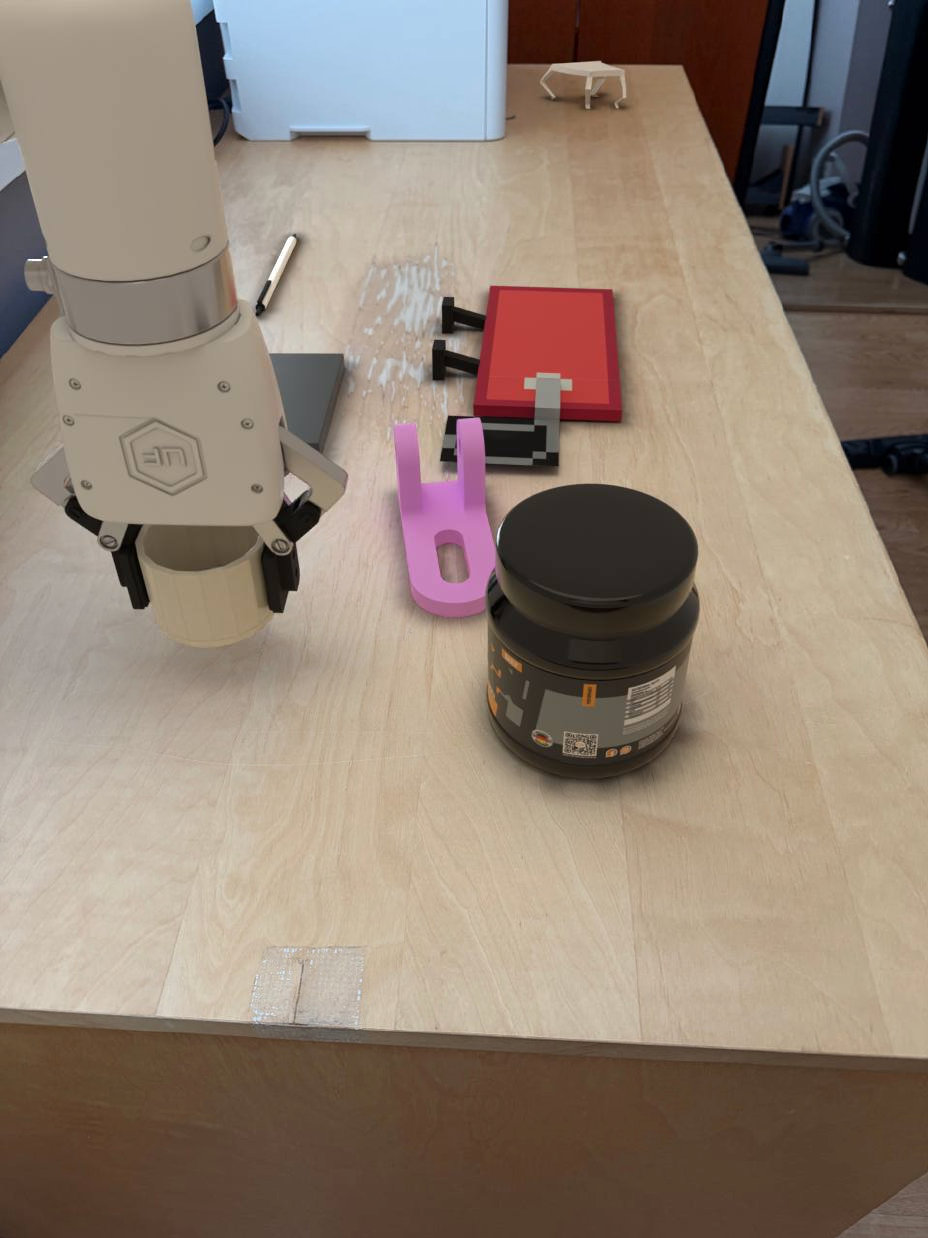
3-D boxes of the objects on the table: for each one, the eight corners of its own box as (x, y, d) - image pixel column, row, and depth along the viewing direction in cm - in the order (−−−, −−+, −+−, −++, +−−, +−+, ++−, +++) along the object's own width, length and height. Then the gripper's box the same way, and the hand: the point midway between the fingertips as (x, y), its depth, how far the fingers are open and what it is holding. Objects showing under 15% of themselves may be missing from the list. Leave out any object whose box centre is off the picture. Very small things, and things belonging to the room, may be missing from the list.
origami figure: (625, 96, 146) (628, 57, 143) (625, 113, 140) (628, 73, 137) (540, 94, 147) (541, 56, 144) (536, 112, 141) (537, 72, 138)
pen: (253, 318, 94) (251, 307, 93) (291, 238, 109) (290, 227, 108) (262, 318, 94) (261, 307, 93) (300, 238, 108) (298, 227, 108)
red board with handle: (413, 471, 74) (624, 480, 74) (412, 437, 73) (628, 445, 72) (449, 298, 97) (611, 303, 96) (449, 269, 95) (613, 274, 94)
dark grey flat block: (99, 460, 77) (88, 422, 75) (150, 369, 88) (141, 334, 85) (321, 461, 76) (316, 423, 74) (345, 370, 87) (341, 334, 85)
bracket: (398, 502, 72) (392, 413, 68) (478, 495, 73) (477, 406, 68) (415, 624, 62) (409, 531, 58) (507, 615, 63) (508, 522, 58)
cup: (140, 646, 56) (119, 574, 53) (172, 566, 61) (155, 496, 58) (265, 649, 56) (252, 577, 52) (287, 569, 61) (276, 499, 57)
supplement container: (522, 631, 62) (526, 459, 54) (698, 674, 59) (729, 498, 51) (456, 756, 55) (450, 578, 47) (653, 813, 52) (683, 633, 44)
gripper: (-81, 322, 43) (37, 636, 55) (333, 329, 43) (362, 645, 55) (-12, 250, 49) (81, 550, 61) (355, 256, 48) (377, 557, 60)
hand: (214, 593), depth 58 cm, fingers closed on cup, 6 cm apart
